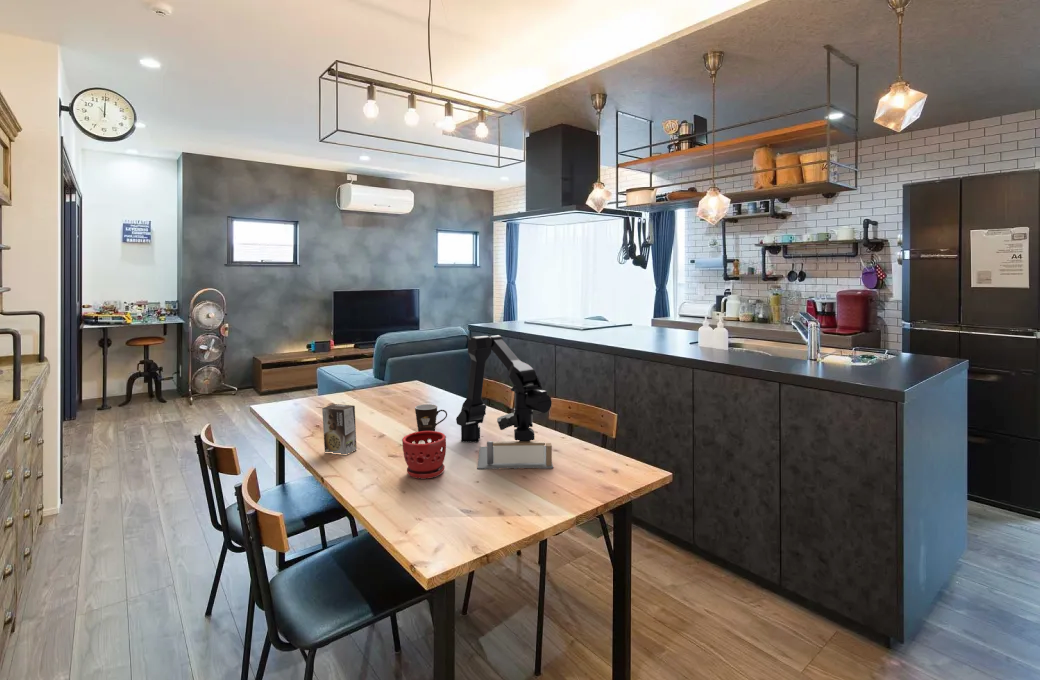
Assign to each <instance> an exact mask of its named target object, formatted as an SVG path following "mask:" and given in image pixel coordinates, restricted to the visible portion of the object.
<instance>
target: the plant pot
mask: <svg viewBox="0 0 1040 680" xmlns="http://www.w3.org/2000/svg"><path fill="white" fill-rule="evenodd" d="M446 438H447V437H446V435H445V434H444V433H443V432H441V431H436V430H435V431H420V432H418V431H415V432H411V433H409V434H407V435H405V436H403V437H402V451H403V458H404V461H405V463H406V465H407V468H406V473H407V474H408V475H409V476H410V477H412V478H414V477H415V478H414V479H419V478H421V479H422V480H424V479H426V478H427V479H431V478H433V477H434V478H436V477H439V476H440V475H441V474H443V473H444V471H445V468H446V466H445V464H444V461H445V458H446V453H447V441H446V440H447V439H446ZM428 440H430V441H428ZM422 441H423V442H424V443H420V442H422Z"/></svg>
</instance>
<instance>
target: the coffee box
mask: <svg viewBox="0 0 1040 680" xmlns="http://www.w3.org/2000/svg"><path fill="white" fill-rule="evenodd" d="M355 408H356V407H355V405H353V404H352V405H351V404H339V403H332V404H330V405H327V406H324V407H322V409H321V411H322V427H323V442H324V443H323V445H324V446H323V447H324V453H325V452H333V453H341V454H348V453H350V452H352V451H354V450H356V449H357V431H356V428H357V427H356V409H355Z"/></svg>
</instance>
